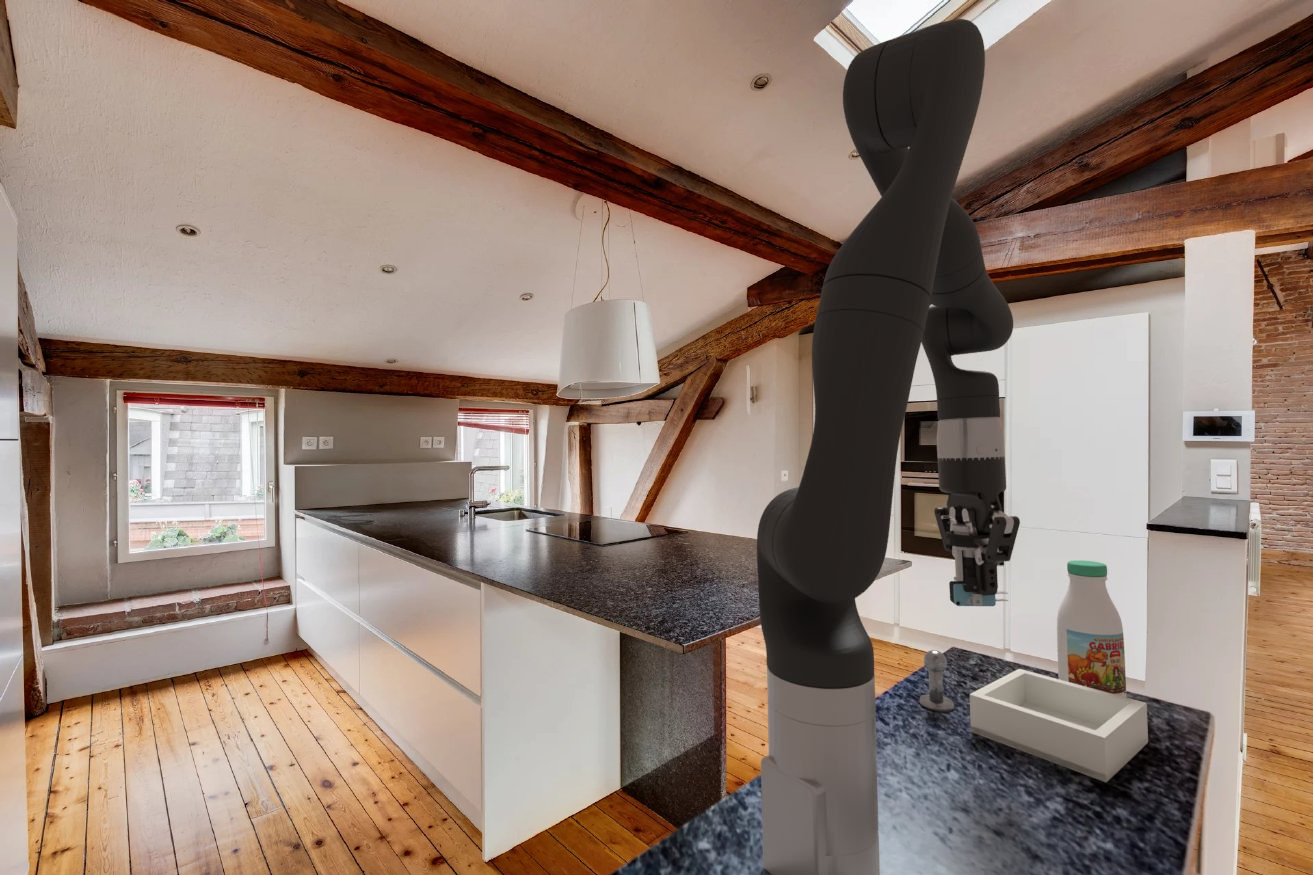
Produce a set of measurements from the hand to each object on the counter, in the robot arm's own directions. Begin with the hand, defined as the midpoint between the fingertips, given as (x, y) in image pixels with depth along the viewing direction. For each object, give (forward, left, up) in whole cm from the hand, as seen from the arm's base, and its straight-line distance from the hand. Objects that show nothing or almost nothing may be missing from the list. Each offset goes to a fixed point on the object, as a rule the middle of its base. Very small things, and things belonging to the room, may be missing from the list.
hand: (977, 590), depth 72 cm
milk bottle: (+23, -4, -19) cm, 30 cm away
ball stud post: (+5, +9, -19) cm, 21 cm away
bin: (+8, -5, -19) cm, 21 cm away
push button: (0, 0, -2) cm, 2 cm away
